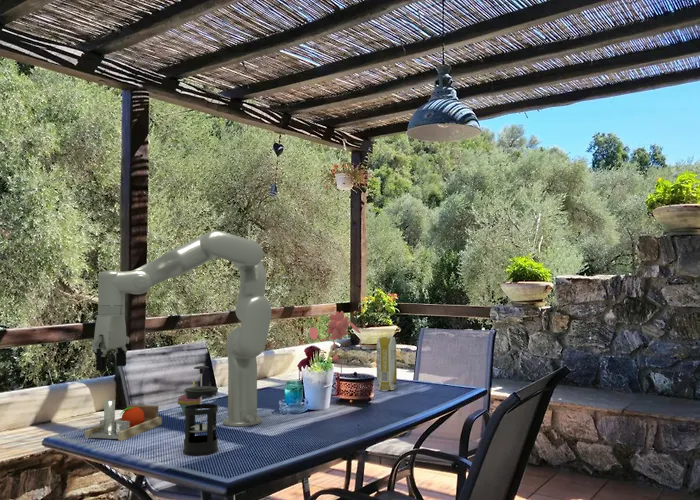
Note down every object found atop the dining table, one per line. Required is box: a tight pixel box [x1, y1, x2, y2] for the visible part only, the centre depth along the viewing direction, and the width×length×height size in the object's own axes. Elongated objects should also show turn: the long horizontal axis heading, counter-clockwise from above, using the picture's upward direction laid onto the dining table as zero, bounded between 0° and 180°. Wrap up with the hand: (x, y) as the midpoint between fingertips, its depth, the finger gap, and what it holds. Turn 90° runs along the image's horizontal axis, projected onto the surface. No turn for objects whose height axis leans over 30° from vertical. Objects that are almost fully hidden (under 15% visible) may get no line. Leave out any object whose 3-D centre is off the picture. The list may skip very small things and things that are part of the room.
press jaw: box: [90, 399, 130, 440], centre depth 180 cm, size 6×9×11 cm, turn 77°
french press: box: [182, 365, 219, 457], centre depth 164 cm, size 12×9×23 cm
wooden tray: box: [84, 404, 163, 442], centre depth 187 cm, size 22×12×6 cm, turn 167°
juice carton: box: [376, 334, 398, 391], centre depth 261 cm, size 9×8×24 cm
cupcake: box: [177, 378, 201, 415], centre depth 214 cm, size 9×8×12 cm
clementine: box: [119, 406, 144, 427], centre depth 190 cm, size 8×7×7 cm
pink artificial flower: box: [308, 310, 361, 374], centre depth 252 cm, size 15×26×35 cm, turn 133°
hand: (111, 368), depth 180 cm, fingers open, 9 cm apart
